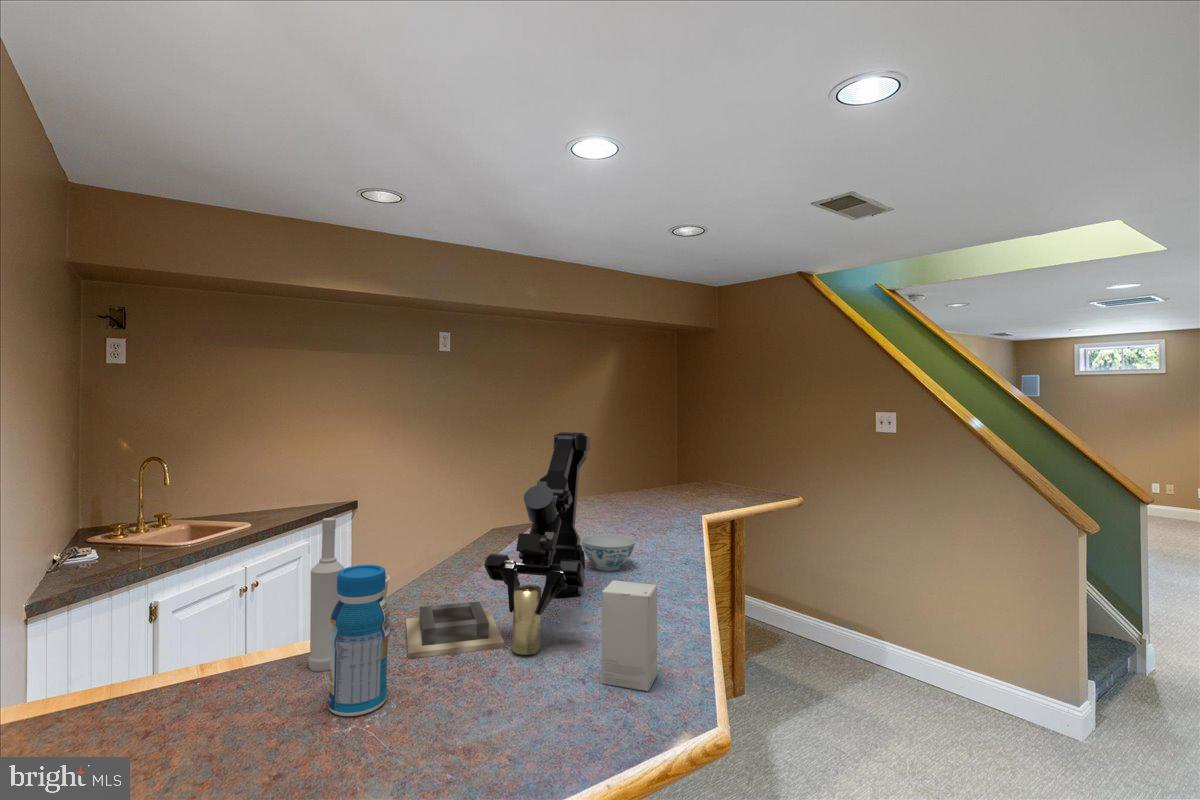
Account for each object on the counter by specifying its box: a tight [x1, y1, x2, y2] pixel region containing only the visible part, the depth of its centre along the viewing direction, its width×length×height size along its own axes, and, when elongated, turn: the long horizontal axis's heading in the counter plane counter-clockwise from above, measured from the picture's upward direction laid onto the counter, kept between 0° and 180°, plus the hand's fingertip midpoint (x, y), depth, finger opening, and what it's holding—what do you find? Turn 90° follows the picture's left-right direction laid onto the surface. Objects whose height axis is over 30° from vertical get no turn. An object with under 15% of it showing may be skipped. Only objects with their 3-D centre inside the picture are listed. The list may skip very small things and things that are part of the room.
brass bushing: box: [511, 584, 542, 656], centre depth 106 cm, size 5×5×11 cm
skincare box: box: [601, 580, 658, 692], centre depth 96 cm, size 8×7×16 cm
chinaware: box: [581, 533, 636, 572], centre depth 162 cm, size 15×15×8 cm
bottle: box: [307, 517, 345, 672], centre depth 99 cm, size 5×5×25 cm
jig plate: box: [405, 601, 505, 660], centre depth 113 cm, size 17×17×4 cm
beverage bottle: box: [327, 564, 391, 717], centre depth 87 cm, size 8×8×20 cm
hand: (524, 612), depth 105 cm, fingers closed on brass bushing, 5 cm apart
